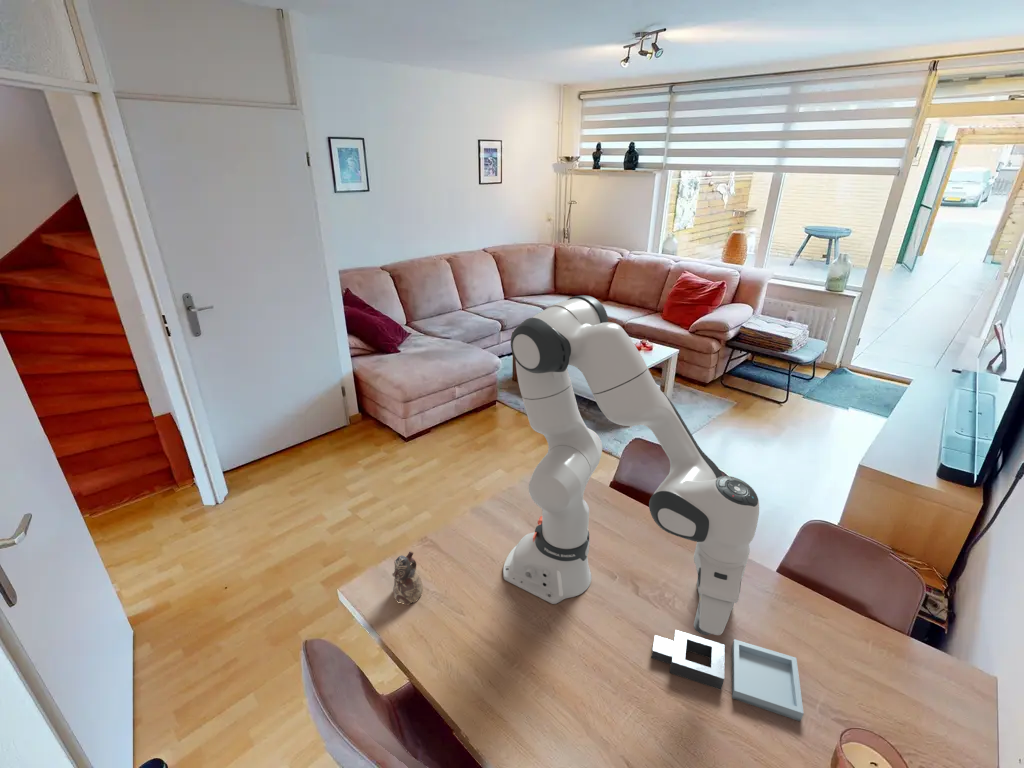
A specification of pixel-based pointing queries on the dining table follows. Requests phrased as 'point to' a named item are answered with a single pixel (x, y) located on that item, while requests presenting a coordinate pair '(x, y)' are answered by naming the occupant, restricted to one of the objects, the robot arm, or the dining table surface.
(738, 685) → the parts tray
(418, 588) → the figurine
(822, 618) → the dining table surface
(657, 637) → the block
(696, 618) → the small capped bottle
